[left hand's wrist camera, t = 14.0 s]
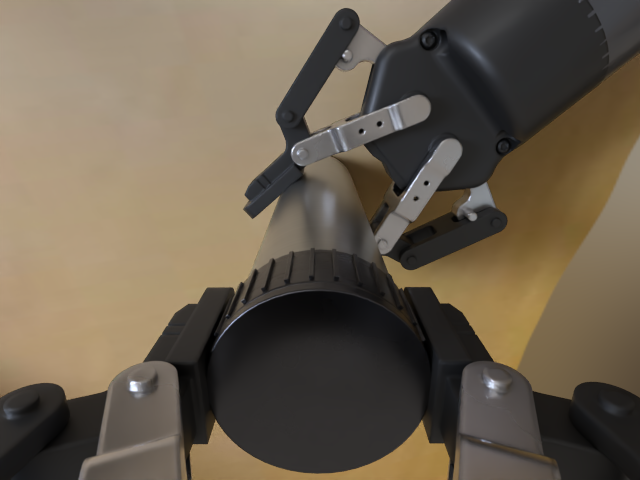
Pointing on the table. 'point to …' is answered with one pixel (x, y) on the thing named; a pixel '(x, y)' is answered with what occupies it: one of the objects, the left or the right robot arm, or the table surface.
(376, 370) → the lid
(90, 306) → the table surface
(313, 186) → the metal thermos bottle
